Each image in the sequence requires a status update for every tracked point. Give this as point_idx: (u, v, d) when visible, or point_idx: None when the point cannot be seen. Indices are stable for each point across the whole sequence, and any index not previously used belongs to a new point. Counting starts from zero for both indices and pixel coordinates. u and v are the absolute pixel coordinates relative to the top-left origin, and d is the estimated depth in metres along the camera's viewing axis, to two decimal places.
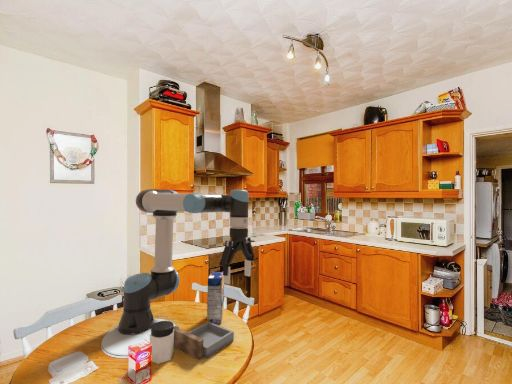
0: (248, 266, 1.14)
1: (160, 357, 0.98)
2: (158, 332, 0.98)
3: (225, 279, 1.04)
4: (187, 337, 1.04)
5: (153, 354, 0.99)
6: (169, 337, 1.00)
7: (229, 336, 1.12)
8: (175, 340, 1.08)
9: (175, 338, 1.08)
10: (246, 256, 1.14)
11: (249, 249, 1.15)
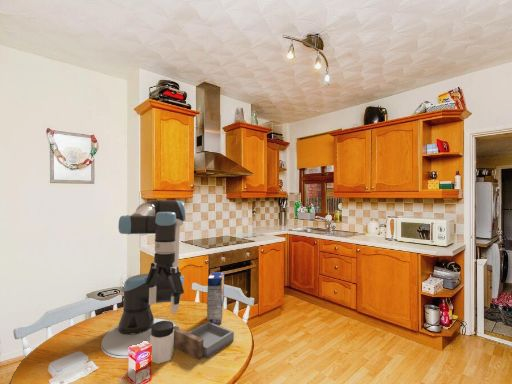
0: None
1: (160, 357, 0.98)
2: (158, 332, 0.98)
3: None
4: (187, 337, 1.04)
5: (153, 354, 0.99)
6: (169, 337, 1.00)
7: (229, 336, 1.12)
8: (175, 340, 1.08)
9: (175, 338, 1.08)
10: None
11: None
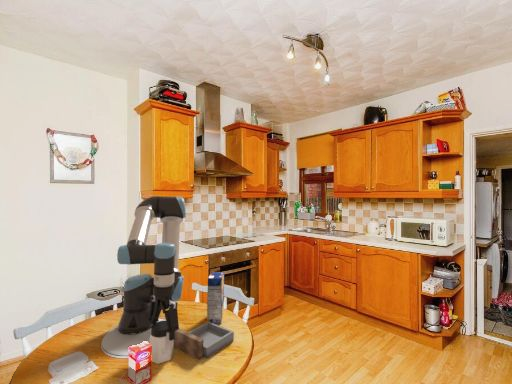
0: None
1: (160, 357, 0.98)
2: (158, 332, 0.98)
3: None
4: (187, 337, 1.04)
5: (153, 354, 0.99)
6: None
7: (229, 336, 1.12)
8: (175, 340, 1.08)
9: (175, 338, 1.08)
10: None
11: None
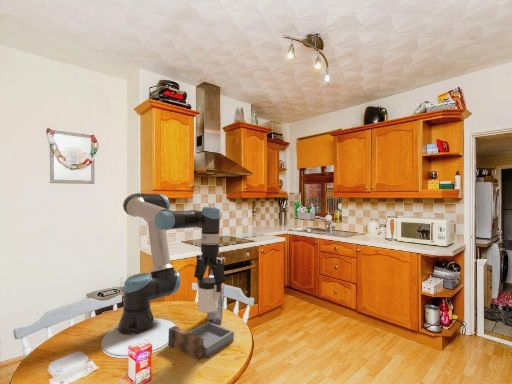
0: None
1: (208, 307, 1.09)
2: (206, 284, 1.09)
3: None
4: (187, 337, 1.04)
5: (202, 304, 1.09)
6: None
7: (229, 336, 1.12)
8: (175, 340, 1.08)
9: (175, 338, 1.08)
10: None
11: None
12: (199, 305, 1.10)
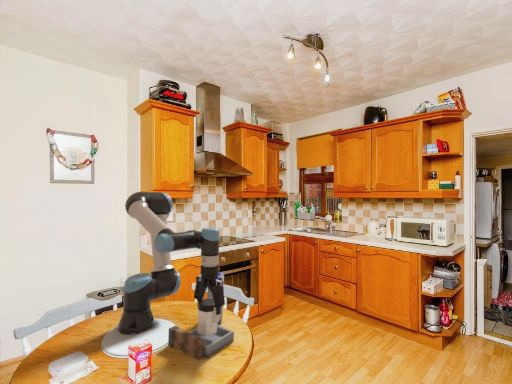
0: None
1: (208, 329, 1.09)
2: (206, 307, 1.09)
3: None
4: (187, 337, 1.04)
5: (201, 327, 1.09)
6: None
7: (229, 336, 1.12)
8: (175, 340, 1.08)
9: (175, 338, 1.08)
10: None
11: None
12: (199, 327, 1.10)
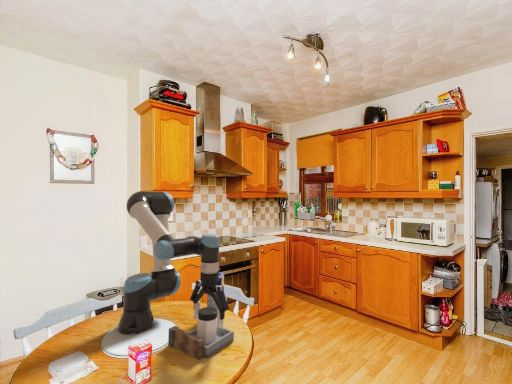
0: None
1: (207, 339, 1.09)
2: (205, 316, 1.09)
3: None
4: (187, 337, 1.04)
5: (201, 336, 1.09)
6: (215, 321, 1.10)
7: (229, 336, 1.12)
8: (175, 340, 1.08)
9: (175, 338, 1.08)
10: None
11: None
12: (198, 336, 1.10)
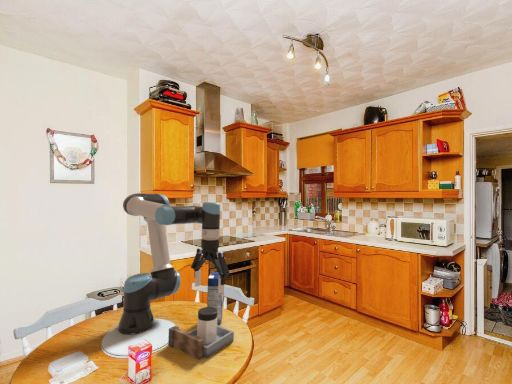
0: None
1: (207, 339, 1.09)
2: (205, 316, 1.09)
3: None
4: (187, 337, 1.04)
5: (201, 336, 1.09)
6: (215, 321, 1.10)
7: (229, 336, 1.12)
8: (175, 340, 1.08)
9: (175, 338, 1.08)
10: None
11: None
12: (198, 336, 1.10)
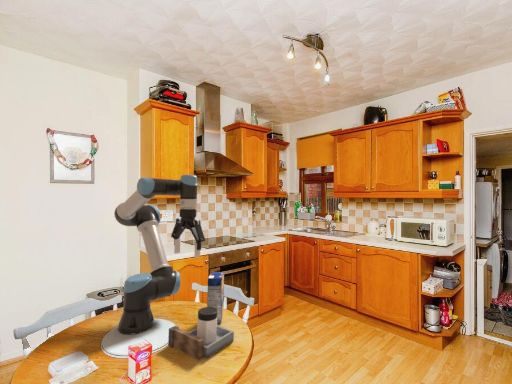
0: None
1: (207, 339, 1.09)
2: (205, 316, 1.09)
3: None
4: (187, 337, 1.04)
5: (201, 336, 1.09)
6: (215, 321, 1.10)
7: (229, 336, 1.12)
8: (175, 340, 1.08)
9: (175, 338, 1.08)
10: None
11: None
12: (198, 336, 1.10)
